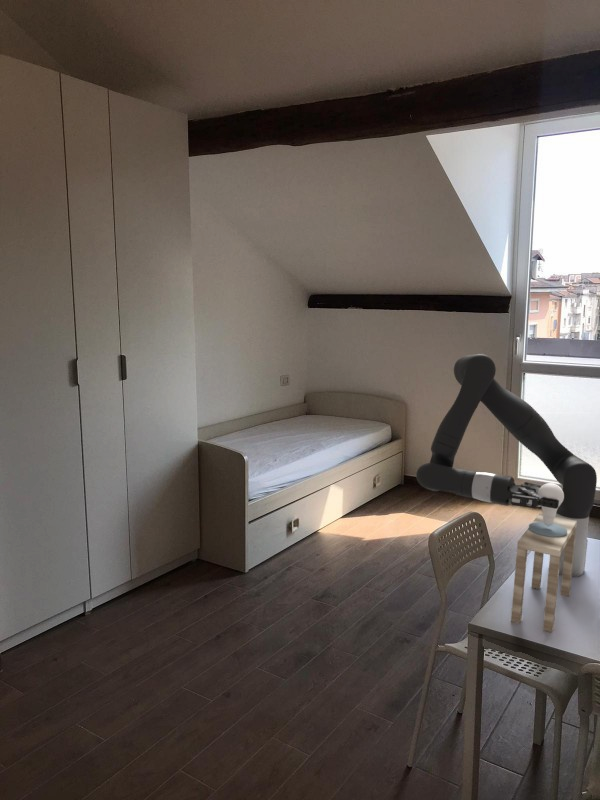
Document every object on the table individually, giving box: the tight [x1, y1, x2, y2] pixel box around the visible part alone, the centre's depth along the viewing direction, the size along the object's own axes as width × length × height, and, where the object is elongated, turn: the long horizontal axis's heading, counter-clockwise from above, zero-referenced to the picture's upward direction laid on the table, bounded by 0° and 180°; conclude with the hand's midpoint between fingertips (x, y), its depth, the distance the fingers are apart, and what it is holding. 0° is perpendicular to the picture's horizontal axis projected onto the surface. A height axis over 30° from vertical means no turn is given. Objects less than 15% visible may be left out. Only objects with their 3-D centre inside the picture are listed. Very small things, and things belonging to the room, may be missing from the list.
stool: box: [510, 513, 577, 633], centre depth 164 cm, size 24×10×21 cm, turn 148°
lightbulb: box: [538, 482, 564, 526], centre depth 161 cm, size 6×6×11 cm
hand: (560, 500), depth 160 cm, fingers open, 6 cm apart
